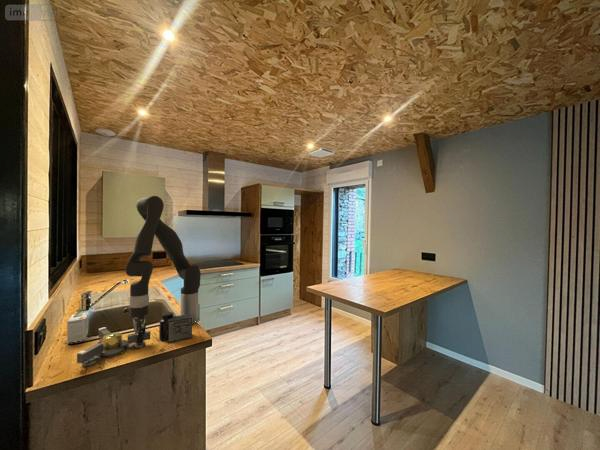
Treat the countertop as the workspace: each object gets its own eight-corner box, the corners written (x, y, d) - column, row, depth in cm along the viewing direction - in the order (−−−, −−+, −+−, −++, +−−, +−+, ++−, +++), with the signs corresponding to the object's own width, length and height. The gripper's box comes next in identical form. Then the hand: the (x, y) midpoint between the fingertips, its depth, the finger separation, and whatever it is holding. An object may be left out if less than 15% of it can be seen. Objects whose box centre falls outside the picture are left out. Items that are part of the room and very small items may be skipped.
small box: (191, 333, 126) (191, 313, 126) (192, 338, 120) (192, 317, 120) (168, 337, 121) (168, 316, 121) (167, 343, 115) (167, 321, 115)
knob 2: (127, 346, 108) (127, 335, 108) (127, 344, 110) (127, 333, 110) (150, 341, 114) (150, 330, 114) (149, 339, 116) (149, 328, 116)
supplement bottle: (169, 341, 117) (170, 316, 117) (156, 341, 117) (156, 316, 117) (177, 334, 124) (177, 311, 124) (164, 334, 124) (164, 310, 124)
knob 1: (97, 353, 102) (97, 342, 102) (103, 354, 102) (103, 342, 102) (76, 365, 94) (76, 352, 94) (82, 366, 94) (82, 353, 94)
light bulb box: (71, 335, 122) (71, 314, 122) (88, 332, 126) (88, 311, 126) (66, 344, 113) (66, 321, 113) (85, 340, 117) (85, 318, 117)
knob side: (111, 342, 112) (111, 331, 112) (104, 344, 110) (104, 333, 110) (104, 337, 117) (105, 326, 117) (98, 339, 115) (98, 328, 115)
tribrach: (121, 335, 123) (121, 321, 123) (147, 345, 113) (147, 330, 113) (64, 356, 103) (64, 340, 103) (90, 370, 93) (90, 352, 93)
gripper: (126, 302, 114) (126, 339, 114) (132, 310, 104) (132, 350, 104) (145, 299, 120) (144, 334, 120) (152, 306, 110) (152, 344, 110)
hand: (139, 341), depth 112 cm, fingers closed on knob 2, 2 cm apart
